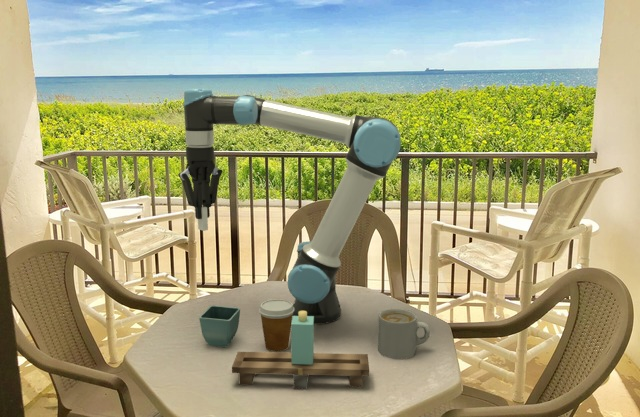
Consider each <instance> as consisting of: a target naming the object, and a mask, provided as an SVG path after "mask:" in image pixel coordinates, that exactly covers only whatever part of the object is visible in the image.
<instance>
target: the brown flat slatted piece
mask: <svg viewBox="0 0 640 417" xmlns="http://www.w3.org/2000/svg"><path fill="white" fill-rule="evenodd" d="M231 373H232V374H238V377H239V378H238V379H239V381H238V382H239V386H253V382H254V380H255V375H257V374H261V375H268V374H269V375H293V390H307V388H308V381H309V375H310V376H311V375H312V376H347V377H348V378H349V380H348V382H349V383H348V384H349V385H348V386H349V388H363V377H370V364H369V354H367V353H333V352H331V353H326V352H325V353H324V352H322V353H321V352H320V353H319V352H314V356H313V365H308V364H291V352H282V351H237V352H236V355H235V357H234V361H233V364H232V366H231Z"/></svg>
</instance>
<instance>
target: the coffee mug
mask: <svg viewBox="0 0 640 417" xmlns="http://www.w3.org/2000/svg"><path fill="white" fill-rule="evenodd" d="M419 328H422V329H423V331H424V334H423V335H422V337H419V336H418V332H417V331H418V330H419ZM430 332H431V330H430V327H429V325H428V323H426V322H423V321H419V320H418V317H417V314H415V312H413V311H410V310H407V309H404V308H388V309H384V310H381V311H380V312H379V314H378V332H377V333H378V335H377V351H378V353H379V354H380V355H381V356H383V357H385V358H387V359H392V360H393V359H394V360H404V359H405V360H406V359H409V358H412V357H413V356H414V355H415V354H416V347H418V346H420V345H422V344H424V343H426V342H427V341H428V340H429V338H430Z"/></svg>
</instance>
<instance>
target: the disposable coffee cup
mask: <svg viewBox="0 0 640 417" xmlns="http://www.w3.org/2000/svg"><path fill="white" fill-rule="evenodd" d="M293 304H294V303H292V301H290V300H287V299H283V298H282V299H281V298H273V299H272V298H271V299H268V300H265V301H263V302H261V304H260V306H259V308H258V312H259V315H260V318H261V320H260V321H261V325H262V332H263V339H264V348H265V349H266V350H267V351H269V352H282V351H286V350H287V349H289V346H290V338H291V323H292V318H293V316H292V314H293V312H294V307H293Z"/></svg>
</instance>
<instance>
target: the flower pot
mask: <svg viewBox="0 0 640 417" xmlns="http://www.w3.org/2000/svg"><path fill="white" fill-rule="evenodd" d="M240 315H241V308H240V307H229V306H223V305H221V306H220V305H210V306H208V307H207V309H206V310H205V311H203V313H202V314H200V316H199V317H198V320H199V323H200V324H199V325H200V330H201V334H202V337H203V339H204V341H205V342H206V343H207V344H208V346H210V347H211V346H212V347H219V348H220V347H223V348H227V347H228V346H229V345H230V344H231V343H232V341H233V339H234V338H235V336H236V334H237V332H238V328H239V325H240V317H241V316H240Z"/></svg>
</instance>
